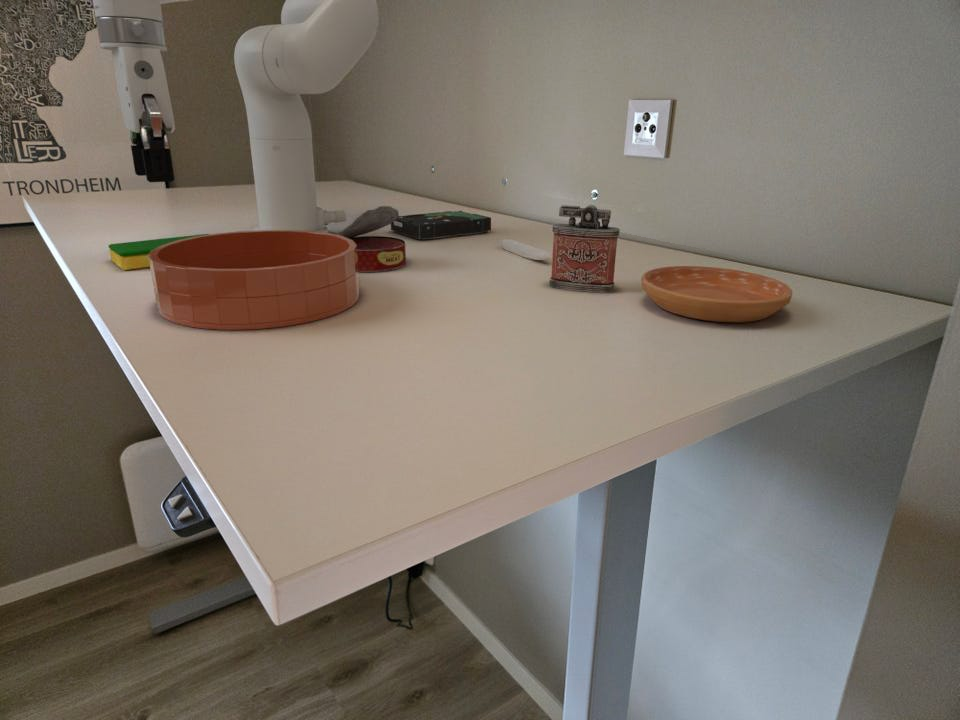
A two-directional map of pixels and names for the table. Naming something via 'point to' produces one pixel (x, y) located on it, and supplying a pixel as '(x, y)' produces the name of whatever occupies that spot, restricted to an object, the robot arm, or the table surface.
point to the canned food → (376, 241)
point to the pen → (525, 250)
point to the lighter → (584, 250)
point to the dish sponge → (138, 252)
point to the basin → (254, 278)
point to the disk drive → (441, 224)
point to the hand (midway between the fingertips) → (154, 178)
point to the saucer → (715, 293)
